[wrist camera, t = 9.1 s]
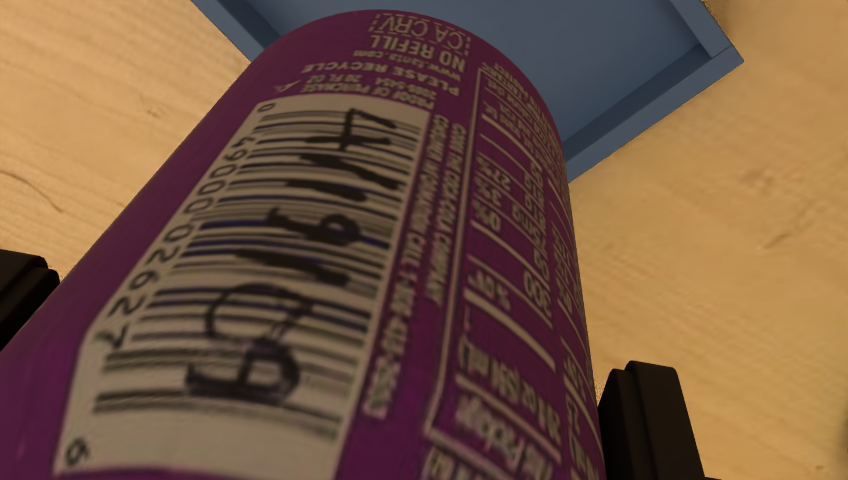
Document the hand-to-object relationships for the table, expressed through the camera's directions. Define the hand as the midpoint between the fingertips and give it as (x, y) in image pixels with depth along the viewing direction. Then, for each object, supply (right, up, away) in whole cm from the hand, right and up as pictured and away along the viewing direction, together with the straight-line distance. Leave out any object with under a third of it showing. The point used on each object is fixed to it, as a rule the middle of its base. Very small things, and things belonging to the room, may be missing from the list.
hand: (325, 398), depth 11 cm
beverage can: (+1, +4, +6) cm, 7 cm away
